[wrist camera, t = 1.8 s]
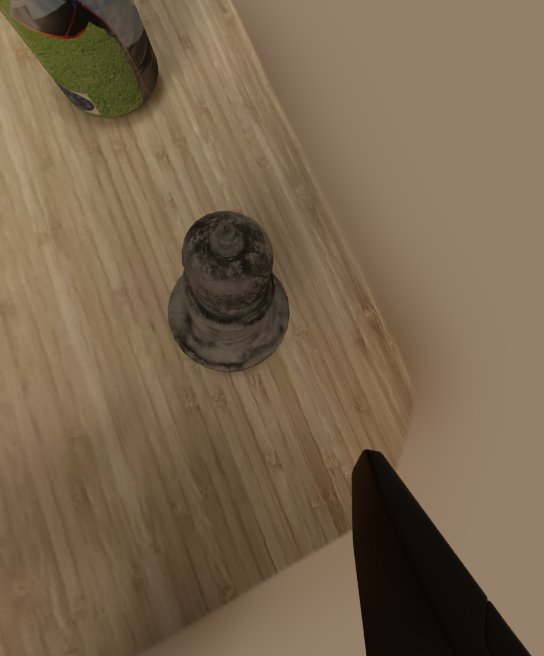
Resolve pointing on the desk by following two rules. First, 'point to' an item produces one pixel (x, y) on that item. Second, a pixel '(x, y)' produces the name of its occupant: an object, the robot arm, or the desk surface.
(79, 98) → the beverage can
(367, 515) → the robot arm
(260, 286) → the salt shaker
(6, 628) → the desk surface
